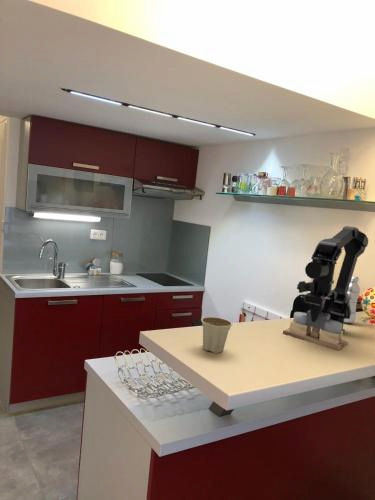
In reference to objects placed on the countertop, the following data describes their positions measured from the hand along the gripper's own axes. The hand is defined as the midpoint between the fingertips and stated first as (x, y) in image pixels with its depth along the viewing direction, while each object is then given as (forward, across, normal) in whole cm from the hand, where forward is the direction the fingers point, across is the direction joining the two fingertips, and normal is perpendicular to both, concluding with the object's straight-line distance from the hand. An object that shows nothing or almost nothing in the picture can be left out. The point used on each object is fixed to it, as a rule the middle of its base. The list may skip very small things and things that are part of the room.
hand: (317, 319), depth 145 cm
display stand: (+7, 0, 0) cm, 7 cm away
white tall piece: (+7, -36, +2) cm, 37 cm away
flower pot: (+7, +40, -18) cm, 44 cm away
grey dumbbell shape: (+2, 0, 0) cm, 2 cm away
